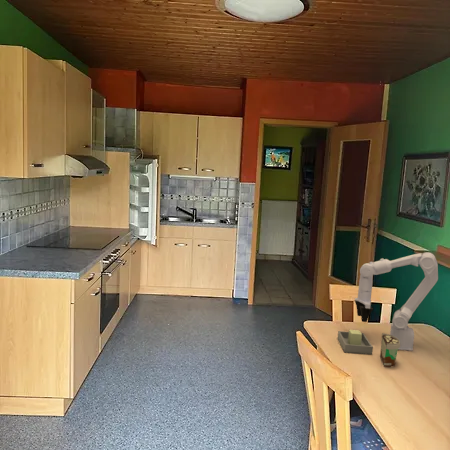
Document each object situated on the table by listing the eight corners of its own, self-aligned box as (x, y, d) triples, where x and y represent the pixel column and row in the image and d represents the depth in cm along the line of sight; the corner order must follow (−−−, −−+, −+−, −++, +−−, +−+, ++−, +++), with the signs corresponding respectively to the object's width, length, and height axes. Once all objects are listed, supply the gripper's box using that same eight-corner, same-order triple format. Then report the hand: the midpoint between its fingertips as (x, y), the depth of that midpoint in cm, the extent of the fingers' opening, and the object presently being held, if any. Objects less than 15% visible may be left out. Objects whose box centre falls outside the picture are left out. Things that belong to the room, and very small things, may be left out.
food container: (400, 370, 167) (403, 346, 166) (384, 368, 168) (387, 344, 167) (394, 357, 179) (397, 334, 178) (379, 355, 180) (382, 332, 179)
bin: (362, 340, 196) (363, 333, 195) (372, 354, 180) (373, 347, 180) (337, 338, 196) (338, 331, 196) (344, 352, 181) (345, 344, 180)
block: (358, 343, 190) (359, 330, 189) (360, 347, 186) (362, 334, 185) (347, 342, 190) (349, 329, 190) (350, 346, 186) (351, 333, 185)
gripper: (352, 284, 202) (349, 312, 204) (360, 293, 188) (357, 323, 190) (367, 286, 202) (364, 313, 204) (376, 295, 187) (373, 324, 189)
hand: (362, 318), depth 197 cm, fingers open, 7 cm apart
